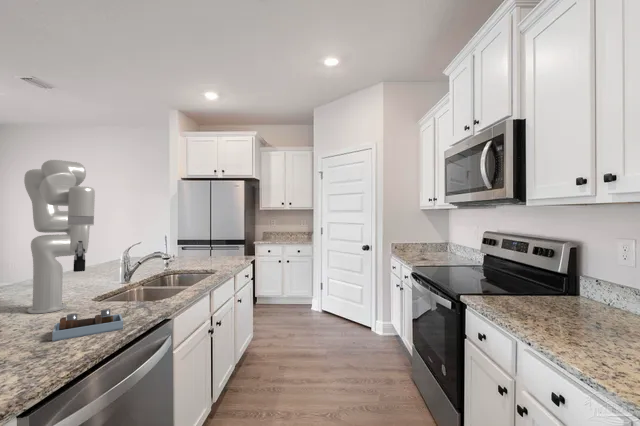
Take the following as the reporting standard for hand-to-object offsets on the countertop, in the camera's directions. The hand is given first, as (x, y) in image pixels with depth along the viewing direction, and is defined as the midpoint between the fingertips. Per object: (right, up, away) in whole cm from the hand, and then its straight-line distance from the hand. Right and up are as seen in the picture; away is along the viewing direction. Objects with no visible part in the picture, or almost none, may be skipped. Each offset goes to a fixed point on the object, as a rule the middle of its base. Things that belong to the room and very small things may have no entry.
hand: (79, 268), depth 114 cm
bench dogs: (+1, -21, +3) cm, 21 cm away
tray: (+6, -21, -3) cm, 22 cm away
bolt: (+5, -21, -3) cm, 22 cm away
